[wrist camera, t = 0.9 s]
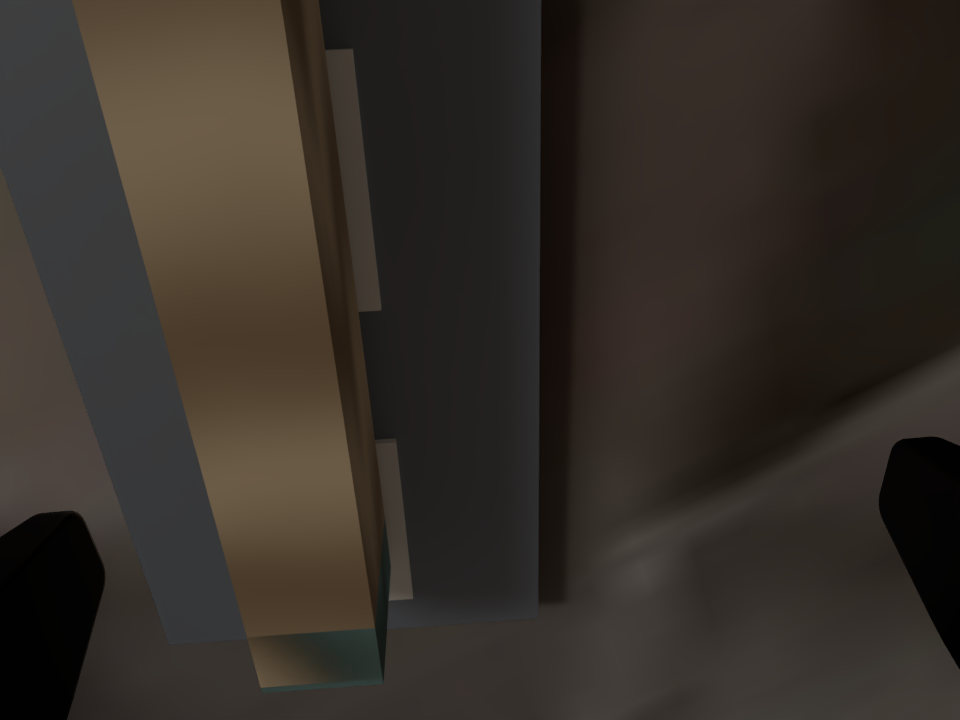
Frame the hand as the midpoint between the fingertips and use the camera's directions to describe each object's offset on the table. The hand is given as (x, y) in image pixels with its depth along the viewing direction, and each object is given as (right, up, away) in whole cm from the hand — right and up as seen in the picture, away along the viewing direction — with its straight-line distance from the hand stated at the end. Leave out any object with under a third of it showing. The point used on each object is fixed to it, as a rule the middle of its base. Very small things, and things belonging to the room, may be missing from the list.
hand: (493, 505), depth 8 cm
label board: (-5, +2, +12) cm, 13 cm away
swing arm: (-5, +5, +9) cm, 11 cm away
